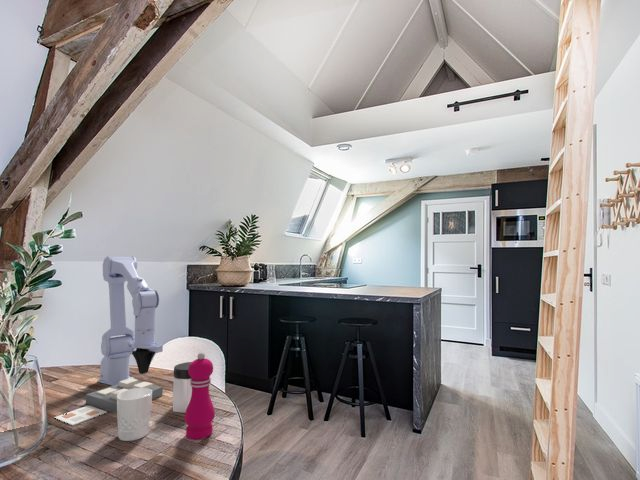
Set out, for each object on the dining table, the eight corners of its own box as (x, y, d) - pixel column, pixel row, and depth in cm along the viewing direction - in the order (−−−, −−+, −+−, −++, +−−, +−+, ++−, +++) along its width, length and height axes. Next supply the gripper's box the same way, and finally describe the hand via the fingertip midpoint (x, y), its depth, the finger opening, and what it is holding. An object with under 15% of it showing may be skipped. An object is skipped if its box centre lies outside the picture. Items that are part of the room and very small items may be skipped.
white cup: (141, 443, 85) (142, 400, 86) (108, 442, 85) (109, 399, 86) (156, 427, 93) (158, 388, 93) (126, 426, 93) (128, 387, 94)
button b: (118, 386, 115) (119, 381, 115) (130, 382, 118) (130, 377, 119) (126, 388, 113) (126, 383, 113) (138, 385, 117) (138, 379, 117)
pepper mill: (205, 442, 86) (207, 357, 86) (177, 439, 87) (180, 355, 88) (219, 428, 93) (221, 349, 94) (194, 425, 94) (195, 348, 95)
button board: (85, 403, 108) (86, 394, 108) (131, 387, 121) (132, 379, 121) (117, 413, 101) (117, 404, 101) (162, 395, 114) (162, 387, 114)
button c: (111, 398, 106) (111, 392, 106) (123, 393, 109) (124, 388, 109) (119, 400, 104) (119, 395, 104) (132, 396, 107) (132, 390, 107)
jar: (174, 402, 109) (175, 362, 109) (202, 399, 111) (203, 360, 112) (171, 415, 100) (172, 371, 101) (201, 411, 102) (202, 369, 103)
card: (53, 418, 97) (54, 417, 98) (88, 406, 105) (88, 405, 105) (72, 425, 93) (72, 424, 93) (106, 412, 101) (107, 411, 101)
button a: (96, 397, 109) (96, 391, 109) (109, 392, 112) (109, 387, 112) (104, 399, 107) (104, 394, 107) (117, 395, 110) (117, 389, 110)
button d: (132, 390, 112) (133, 385, 112) (144, 386, 115) (144, 381, 115) (141, 392, 110) (141, 387, 110) (152, 388, 113) (153, 383, 114)
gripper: (118, 329, 113) (116, 373, 113) (149, 333, 107) (147, 380, 106) (138, 325, 120) (137, 367, 119) (168, 329, 113) (167, 373, 112)
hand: (143, 372), depth 113 cm, fingers closed
